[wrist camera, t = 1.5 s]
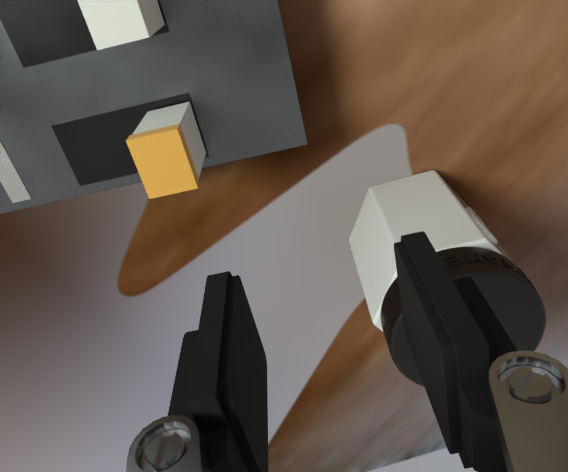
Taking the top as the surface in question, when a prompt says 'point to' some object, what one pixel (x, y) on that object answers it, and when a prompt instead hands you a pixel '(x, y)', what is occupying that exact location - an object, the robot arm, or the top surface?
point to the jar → (452, 252)
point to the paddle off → (121, 20)
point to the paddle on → (168, 150)
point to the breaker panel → (135, 92)
